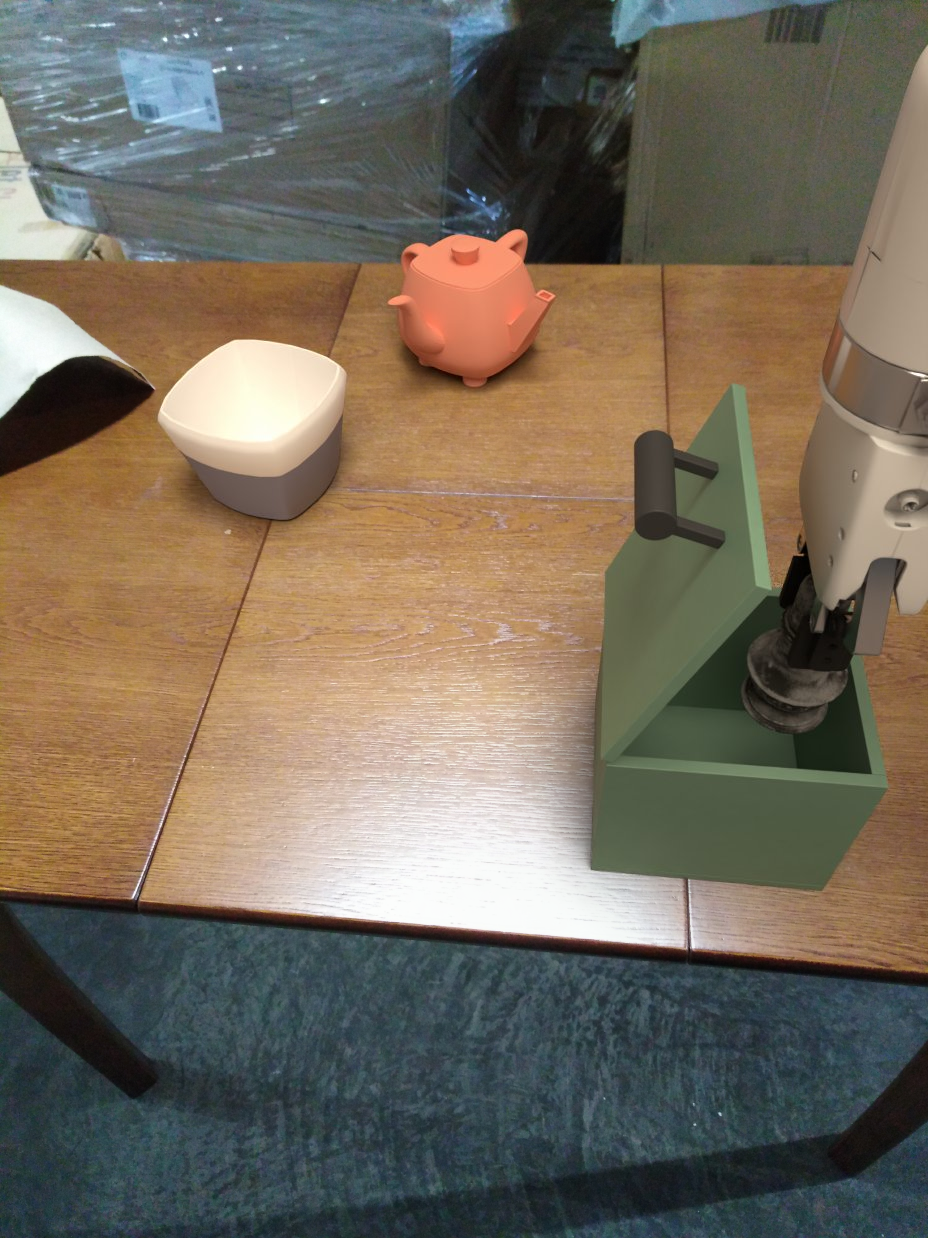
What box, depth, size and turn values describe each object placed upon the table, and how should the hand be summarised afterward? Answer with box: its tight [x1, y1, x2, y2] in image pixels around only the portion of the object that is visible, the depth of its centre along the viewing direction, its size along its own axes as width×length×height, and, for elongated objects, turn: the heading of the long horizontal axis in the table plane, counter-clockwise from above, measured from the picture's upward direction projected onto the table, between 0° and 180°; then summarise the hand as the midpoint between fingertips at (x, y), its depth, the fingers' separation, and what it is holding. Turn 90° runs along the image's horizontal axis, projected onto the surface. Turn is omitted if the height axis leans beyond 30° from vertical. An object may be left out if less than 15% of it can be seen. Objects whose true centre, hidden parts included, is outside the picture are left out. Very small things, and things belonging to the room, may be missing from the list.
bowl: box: [157, 339, 348, 521], centre depth 86 cm, size 15×15×11 cm
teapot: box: [387, 228, 557, 388], centre depth 97 cm, size 16×17×14 cm
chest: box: [590, 586, 890, 892], centre depth 61 cm, size 16×15×14 cm
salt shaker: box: [741, 574, 853, 734], centre depth 52 cm, size 6×6×12 cm
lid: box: [601, 382, 773, 762], centre depth 49 cm, size 16×15×5 cm
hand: (811, 633), depth 51 cm, fingers closed on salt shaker, 3 cm apart
